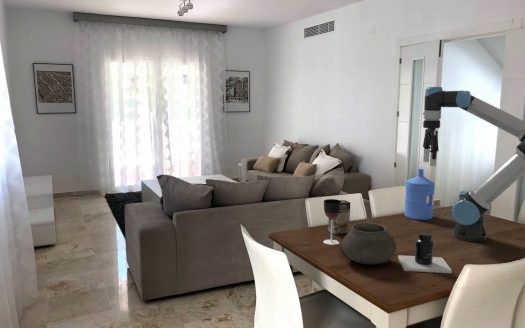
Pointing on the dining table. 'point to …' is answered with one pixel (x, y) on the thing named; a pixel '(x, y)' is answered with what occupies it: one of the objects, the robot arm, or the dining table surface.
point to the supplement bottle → (424, 249)
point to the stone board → (436, 266)
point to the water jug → (419, 197)
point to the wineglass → (332, 215)
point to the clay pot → (369, 244)
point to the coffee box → (341, 219)
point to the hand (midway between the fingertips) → (429, 164)
